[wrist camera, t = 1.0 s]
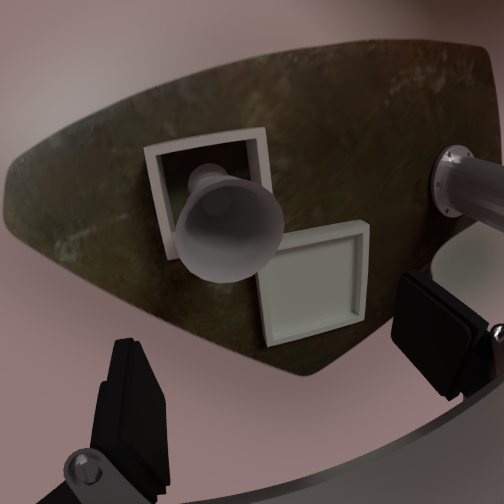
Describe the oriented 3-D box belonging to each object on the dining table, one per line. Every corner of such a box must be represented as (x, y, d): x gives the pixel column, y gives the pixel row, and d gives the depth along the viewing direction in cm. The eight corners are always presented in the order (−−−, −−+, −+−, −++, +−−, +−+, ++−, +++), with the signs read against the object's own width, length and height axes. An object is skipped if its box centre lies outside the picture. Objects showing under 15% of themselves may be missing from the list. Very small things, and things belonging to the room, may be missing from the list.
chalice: (206, 224, 38) (225, 301, 22) (167, 186, 35) (151, 237, 19) (250, 183, 37) (304, 230, 21) (212, 142, 34) (237, 154, 18)
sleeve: (252, 127, 34) (264, 127, 29) (263, 222, 39) (277, 238, 34) (150, 144, 33) (143, 147, 27) (169, 240, 38) (167, 260, 32)
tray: (360, 219, 42) (369, 224, 40) (356, 311, 48) (363, 319, 46) (250, 240, 40) (254, 247, 37) (263, 336, 46) (267, 346, 44)
